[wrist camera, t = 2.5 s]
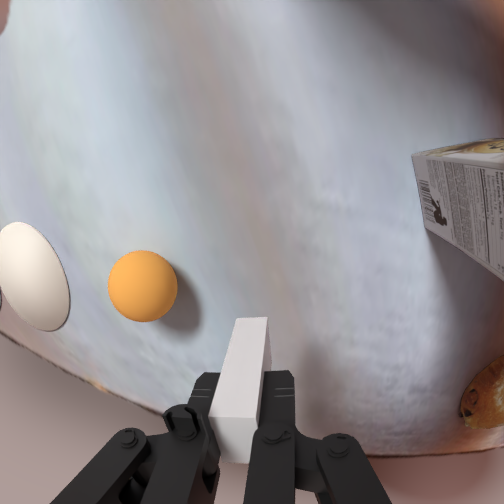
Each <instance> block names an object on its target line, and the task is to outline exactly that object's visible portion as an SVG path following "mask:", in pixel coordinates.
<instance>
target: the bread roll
mask: <svg viewBox="0 0 504 504" xmlns="http://www.w3.org/2000/svg"><path fill="white" fill-rule="evenodd" d="M459 417H464V419H465V424H464V425H465V426H470V427H471V429H473V428H474V429H482V428H483V429H484V428H486V429H490V428H493V427H498V426H503V425H504V355H503V356H501V357H499V358H497V359H496V360H495V361H494V362H492V363H491V364H490V365H489V366H487V367H486V368H485V369H484V370H482V371H481V372H480V373H479V374H478V375H477V376H476V377H475V378H474V379H473V380H472V382H471V383H470V384H469V386H468V387H467V388H466V390H465V392H464V394H463V397H462V399H461V412H460V414H459Z"/></svg>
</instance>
